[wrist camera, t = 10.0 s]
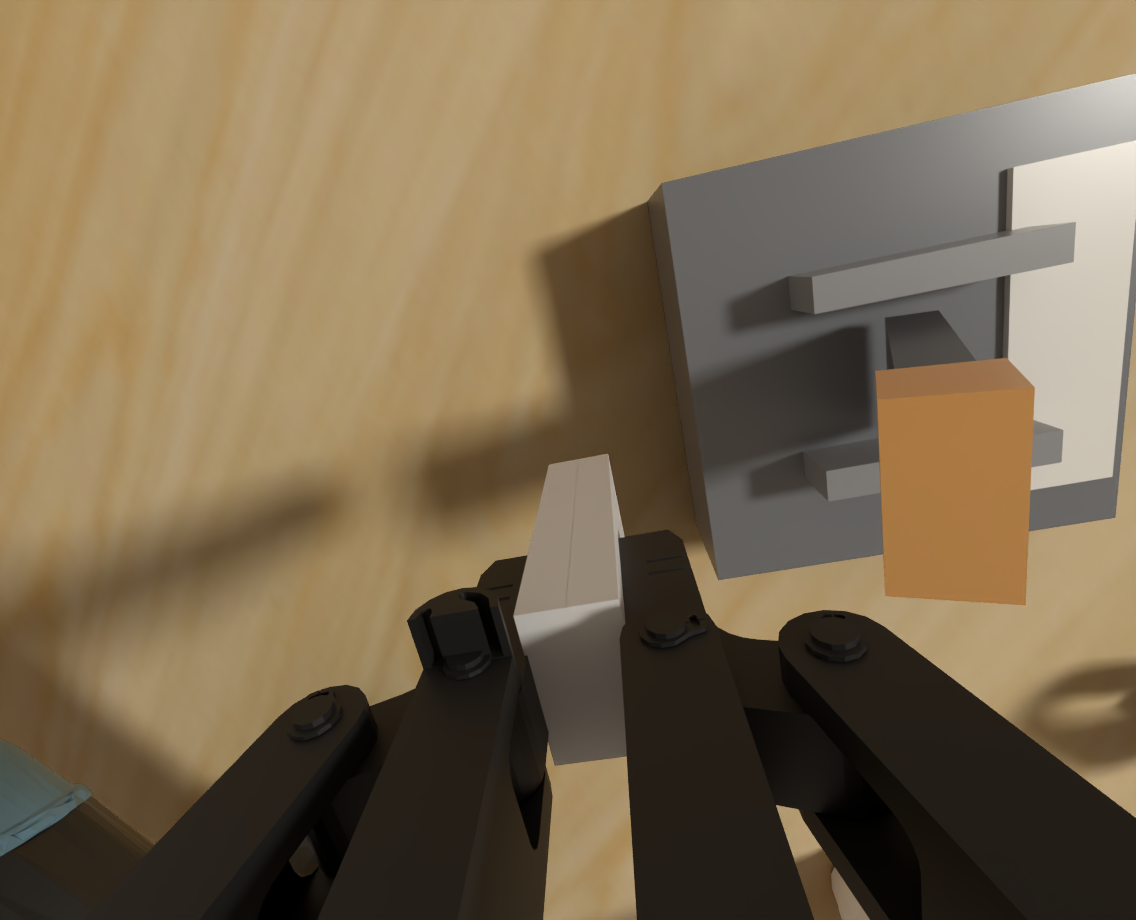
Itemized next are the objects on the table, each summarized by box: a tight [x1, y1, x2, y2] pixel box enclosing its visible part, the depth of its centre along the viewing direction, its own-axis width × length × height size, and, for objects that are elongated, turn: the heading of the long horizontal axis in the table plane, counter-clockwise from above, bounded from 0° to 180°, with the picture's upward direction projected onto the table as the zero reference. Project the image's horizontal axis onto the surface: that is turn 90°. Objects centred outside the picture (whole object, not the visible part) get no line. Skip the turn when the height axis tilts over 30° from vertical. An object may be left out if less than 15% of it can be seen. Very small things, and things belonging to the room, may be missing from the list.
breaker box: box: [647, 74, 1136, 580], centre depth 23 cm, size 16×16×8 cm
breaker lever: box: [875, 310, 1035, 605], centre depth 16 cm, size 2×4×11 cm, turn 10°
